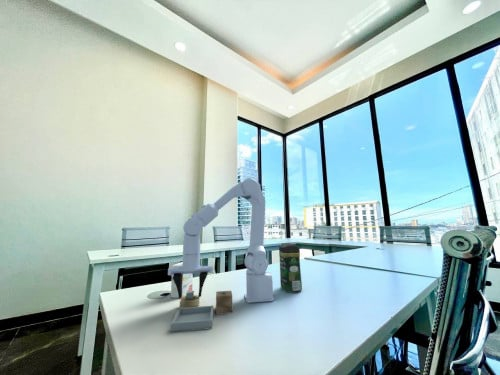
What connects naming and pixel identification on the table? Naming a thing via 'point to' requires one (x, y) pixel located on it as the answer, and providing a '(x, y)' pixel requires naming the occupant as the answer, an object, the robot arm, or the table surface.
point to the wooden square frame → (189, 302)
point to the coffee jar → (290, 267)
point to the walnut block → (223, 302)
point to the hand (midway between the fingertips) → (190, 296)
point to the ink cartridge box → (185, 283)
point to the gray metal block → (190, 295)
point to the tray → (193, 319)
